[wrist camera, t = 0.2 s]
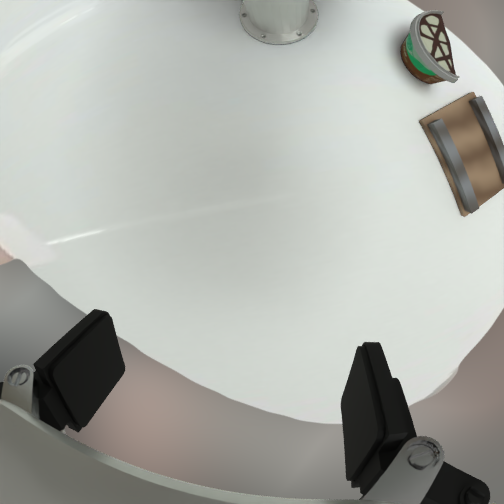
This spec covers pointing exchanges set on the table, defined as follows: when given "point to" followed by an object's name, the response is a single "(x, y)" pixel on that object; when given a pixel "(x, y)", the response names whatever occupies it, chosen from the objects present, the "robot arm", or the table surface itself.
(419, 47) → the food container
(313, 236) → the table surface
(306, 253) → the table surface
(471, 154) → the cradle
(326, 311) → the table surface
